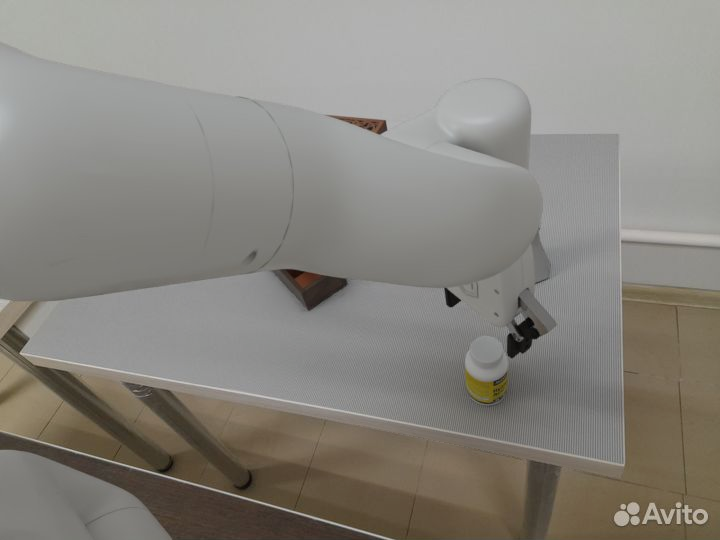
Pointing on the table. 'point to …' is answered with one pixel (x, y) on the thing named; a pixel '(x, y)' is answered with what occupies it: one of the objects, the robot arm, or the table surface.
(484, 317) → the robot arm
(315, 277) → the holder
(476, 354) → the supplement bottle
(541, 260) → the flask
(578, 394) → the table surface
